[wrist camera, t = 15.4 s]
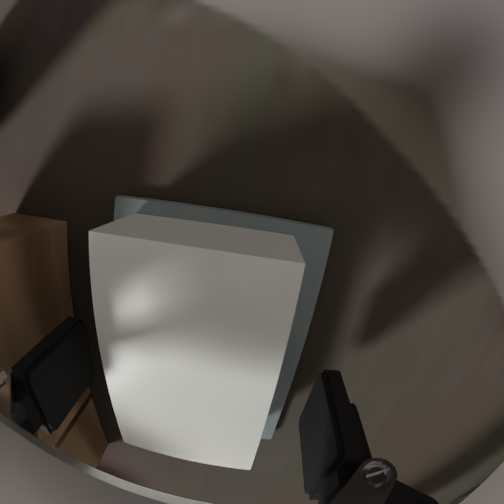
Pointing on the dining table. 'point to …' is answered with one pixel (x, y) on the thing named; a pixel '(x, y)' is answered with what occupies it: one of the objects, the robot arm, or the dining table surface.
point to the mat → (306, 234)
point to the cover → (193, 331)
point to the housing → (42, 317)
